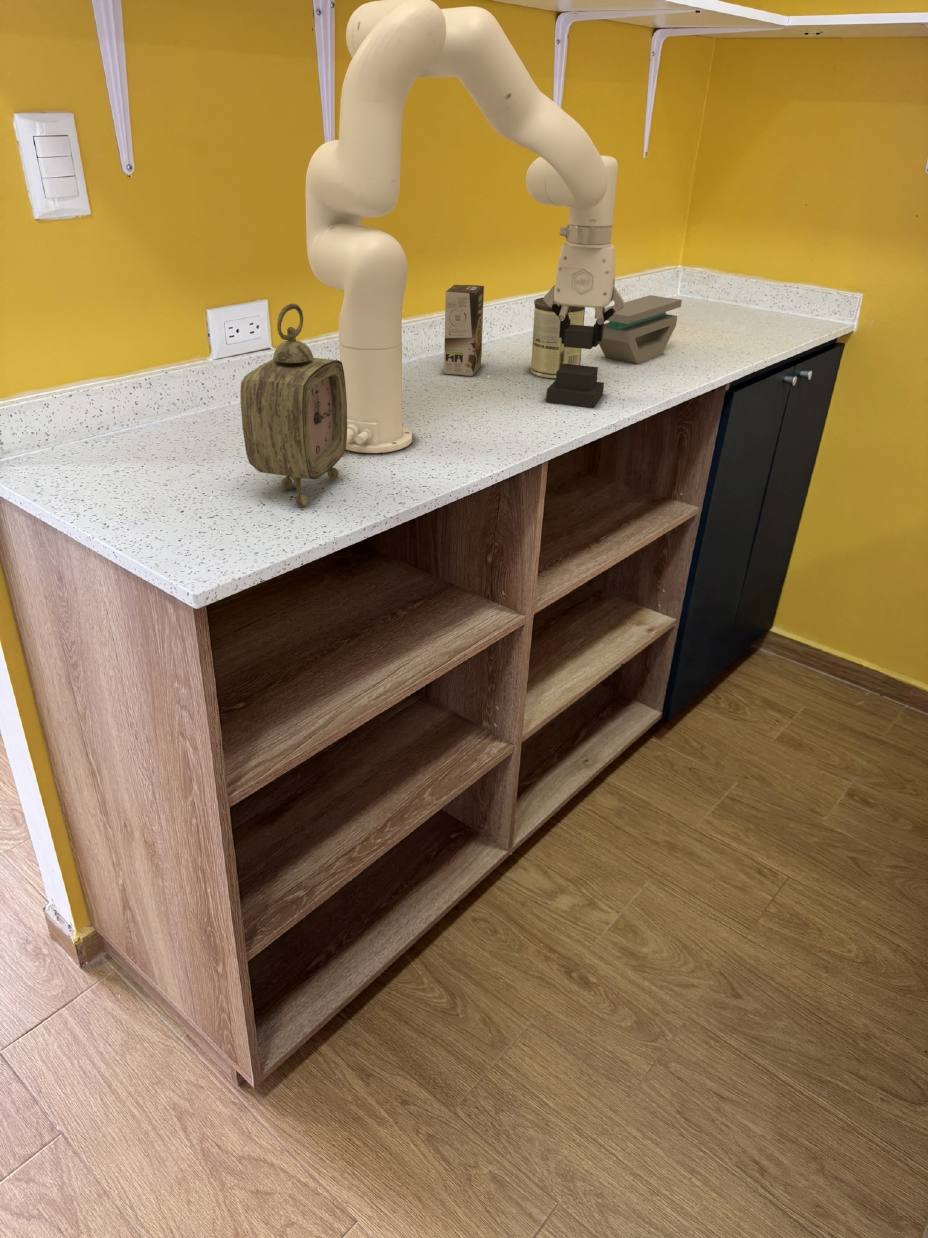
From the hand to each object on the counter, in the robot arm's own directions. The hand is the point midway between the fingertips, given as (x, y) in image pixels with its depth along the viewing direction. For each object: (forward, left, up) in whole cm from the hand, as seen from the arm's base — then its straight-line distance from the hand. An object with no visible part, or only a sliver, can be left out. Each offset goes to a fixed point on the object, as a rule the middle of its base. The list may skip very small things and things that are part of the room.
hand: (580, 342), depth 161 cm
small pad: (0, 0, 0) cm, 0 cm away
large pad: (0, 0, -10) cm, 10 cm away
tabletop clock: (-60, +26, -11) cm, 66 cm away
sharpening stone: (+38, -5, -11) cm, 40 cm away
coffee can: (+17, +8, -11) cm, 21 cm away
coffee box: (+11, +26, -11) cm, 30 cm away
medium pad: (0, 0, -8) cm, 8 cm away
